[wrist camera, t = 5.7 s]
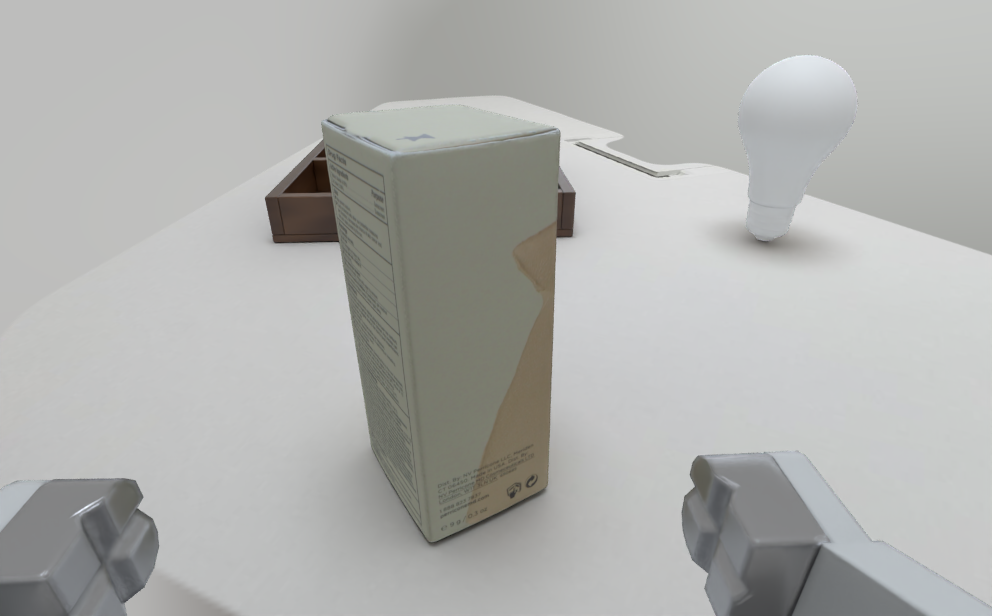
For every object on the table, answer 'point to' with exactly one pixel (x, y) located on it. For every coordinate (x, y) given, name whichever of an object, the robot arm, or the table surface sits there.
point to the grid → (310, 211)
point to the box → (450, 300)
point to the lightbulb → (791, 134)
